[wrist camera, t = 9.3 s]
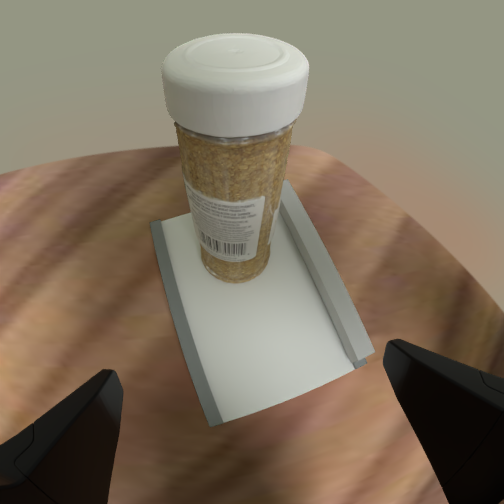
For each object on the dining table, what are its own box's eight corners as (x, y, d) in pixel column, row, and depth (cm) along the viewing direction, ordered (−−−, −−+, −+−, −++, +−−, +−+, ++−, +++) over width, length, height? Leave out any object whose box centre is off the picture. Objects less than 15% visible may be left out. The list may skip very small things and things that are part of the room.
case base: (361, 363, 17) (378, 359, 15) (211, 424, 15) (207, 430, 13) (280, 195, 23) (284, 174, 20) (153, 232, 21) (145, 212, 18)
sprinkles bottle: (282, 247, 19) (335, 53, 7) (241, 300, 17) (254, 102, 6) (228, 213, 20) (225, 22, 8) (185, 259, 19) (128, 63, 7)
